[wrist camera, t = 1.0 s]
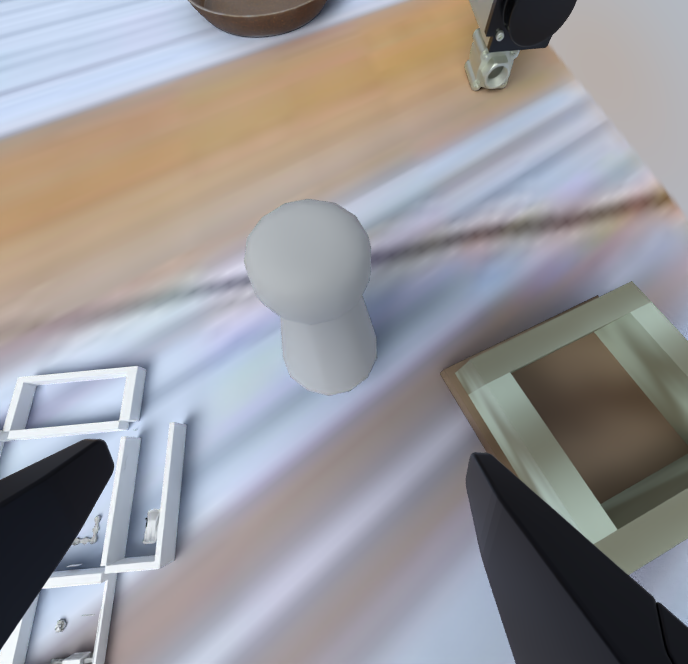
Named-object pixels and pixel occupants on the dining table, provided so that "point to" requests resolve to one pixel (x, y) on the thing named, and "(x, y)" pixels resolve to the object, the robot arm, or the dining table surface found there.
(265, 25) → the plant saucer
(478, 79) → the pneumatic valve
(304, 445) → the dining table surface
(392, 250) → the dining table surface
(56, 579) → the floor plan model
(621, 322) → the holder
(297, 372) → the grey round-headed cylinder
